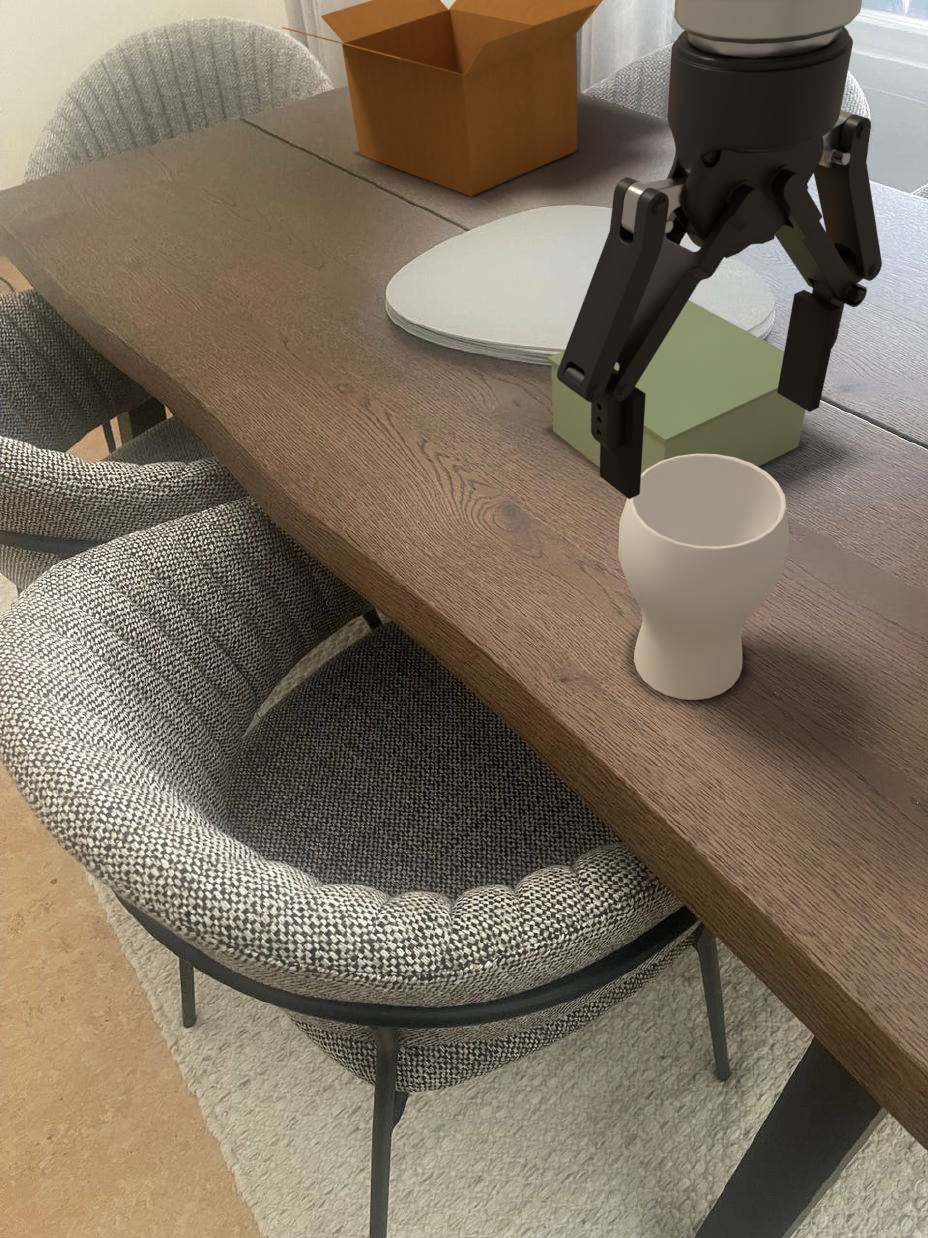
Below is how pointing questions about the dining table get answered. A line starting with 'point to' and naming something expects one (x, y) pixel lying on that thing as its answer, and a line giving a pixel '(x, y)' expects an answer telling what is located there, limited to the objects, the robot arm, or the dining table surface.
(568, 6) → the box
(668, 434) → the green flat-topped block
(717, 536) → the cup
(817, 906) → the dining table surface
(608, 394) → the robot arm
